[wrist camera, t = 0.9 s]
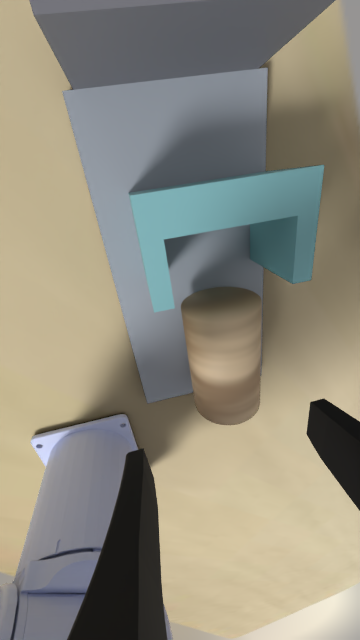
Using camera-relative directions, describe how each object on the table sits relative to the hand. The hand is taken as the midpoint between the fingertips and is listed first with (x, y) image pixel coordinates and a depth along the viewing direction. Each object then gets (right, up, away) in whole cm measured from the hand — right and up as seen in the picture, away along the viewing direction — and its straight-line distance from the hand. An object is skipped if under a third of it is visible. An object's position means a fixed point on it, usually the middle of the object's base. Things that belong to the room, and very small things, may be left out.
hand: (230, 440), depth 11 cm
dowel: (0, +4, +9) cm, 10 cm away
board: (-1, +8, +7) cm, 11 cm away
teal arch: (-1, +11, +5) cm, 12 cm away
